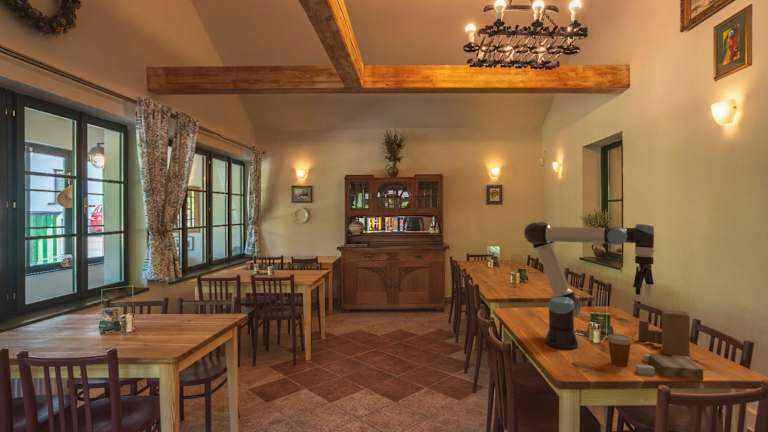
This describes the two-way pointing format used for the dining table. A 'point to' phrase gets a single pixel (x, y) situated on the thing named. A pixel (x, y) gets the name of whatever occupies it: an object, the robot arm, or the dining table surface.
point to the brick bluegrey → (645, 369)
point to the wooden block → (675, 333)
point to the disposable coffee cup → (619, 349)
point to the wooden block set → (648, 333)
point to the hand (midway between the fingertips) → (643, 299)
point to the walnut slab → (676, 367)
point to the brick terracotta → (682, 356)
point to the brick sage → (646, 358)
